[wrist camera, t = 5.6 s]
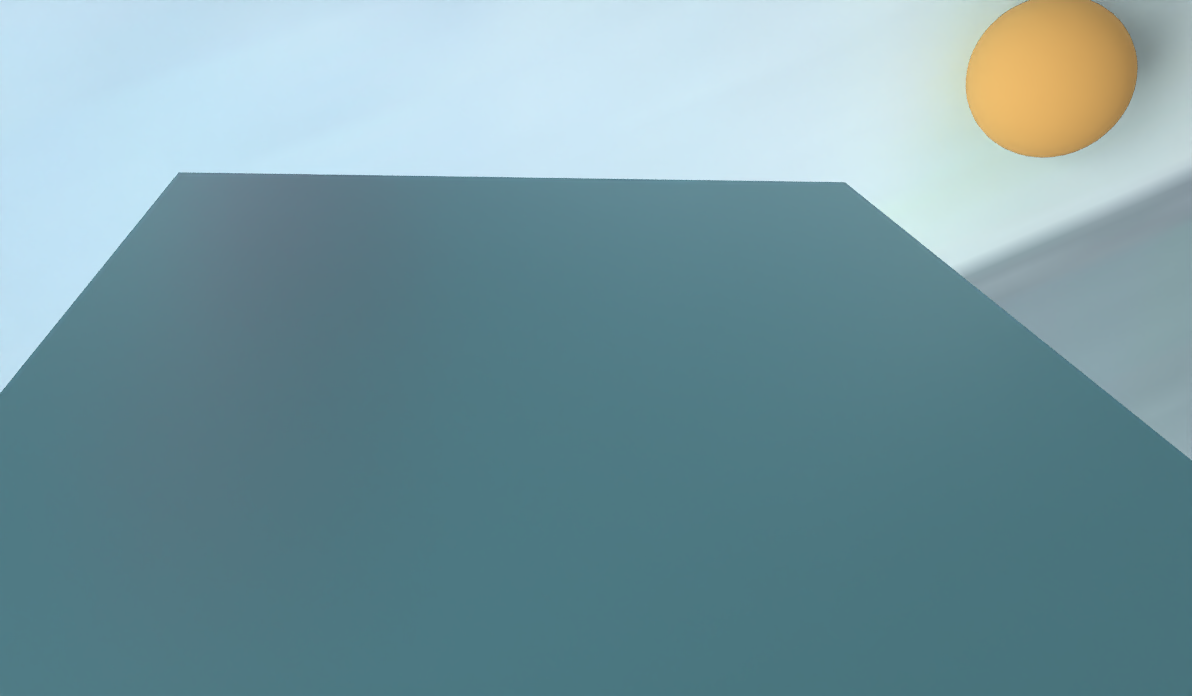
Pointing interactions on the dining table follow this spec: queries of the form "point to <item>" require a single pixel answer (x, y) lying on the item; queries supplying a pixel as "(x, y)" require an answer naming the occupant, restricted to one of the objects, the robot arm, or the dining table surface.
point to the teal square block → (570, 458)
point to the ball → (1051, 76)
